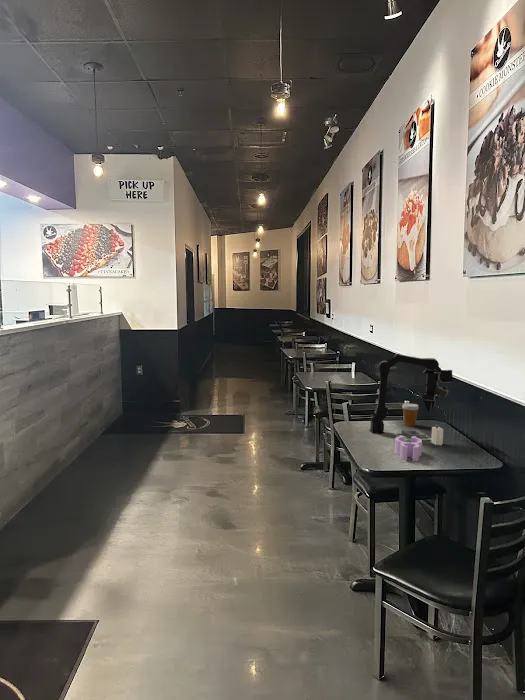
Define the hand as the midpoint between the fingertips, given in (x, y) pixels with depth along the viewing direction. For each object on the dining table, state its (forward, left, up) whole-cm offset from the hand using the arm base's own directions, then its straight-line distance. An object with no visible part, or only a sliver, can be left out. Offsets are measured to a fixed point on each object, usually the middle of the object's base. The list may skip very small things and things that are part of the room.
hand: (430, 410), depth 292 cm
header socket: (-11, -3, -14) cm, 18 cm away
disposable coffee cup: (0, +23, -14) cm, 27 cm away
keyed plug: (-4, -15, -14) cm, 21 cm away
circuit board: (-11, -3, -14) cm, 18 cm away
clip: (-28, -31, -14) cm, 44 cm away
